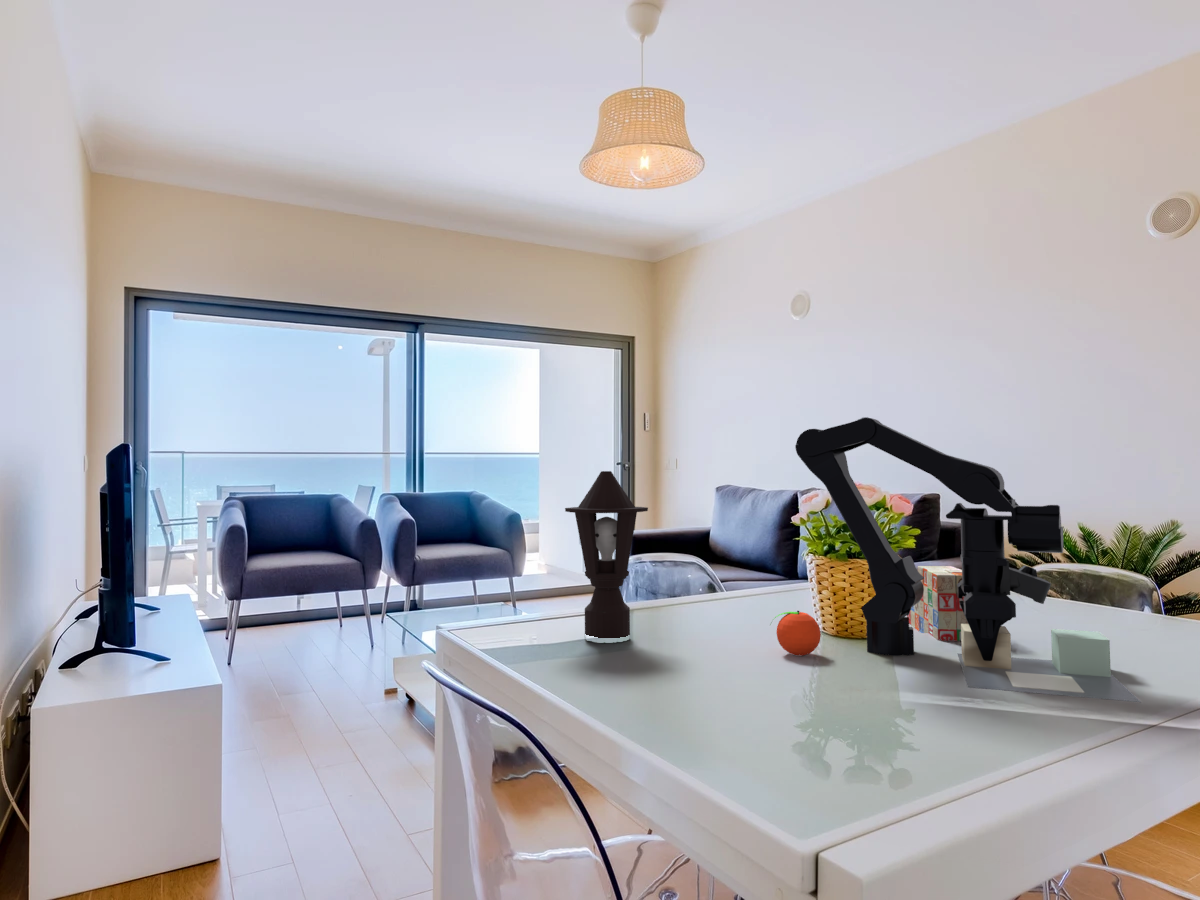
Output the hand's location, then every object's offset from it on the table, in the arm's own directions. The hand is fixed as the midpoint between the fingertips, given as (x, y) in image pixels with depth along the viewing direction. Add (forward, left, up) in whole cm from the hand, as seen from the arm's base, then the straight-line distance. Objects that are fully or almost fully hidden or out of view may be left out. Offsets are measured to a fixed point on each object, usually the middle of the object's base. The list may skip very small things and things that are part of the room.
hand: (985, 655), depth 111 cm
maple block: (0, 0, -1) cm, 1 cm away
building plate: (+6, -5, -2) cm, 8 cm away
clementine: (-27, 0, -2) cm, 28 cm away
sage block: (+12, 0, -1) cm, 12 cm away
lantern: (-60, +1, -2) cm, 61 cm away
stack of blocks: (-5, +26, -2) cm, 26 cm away
